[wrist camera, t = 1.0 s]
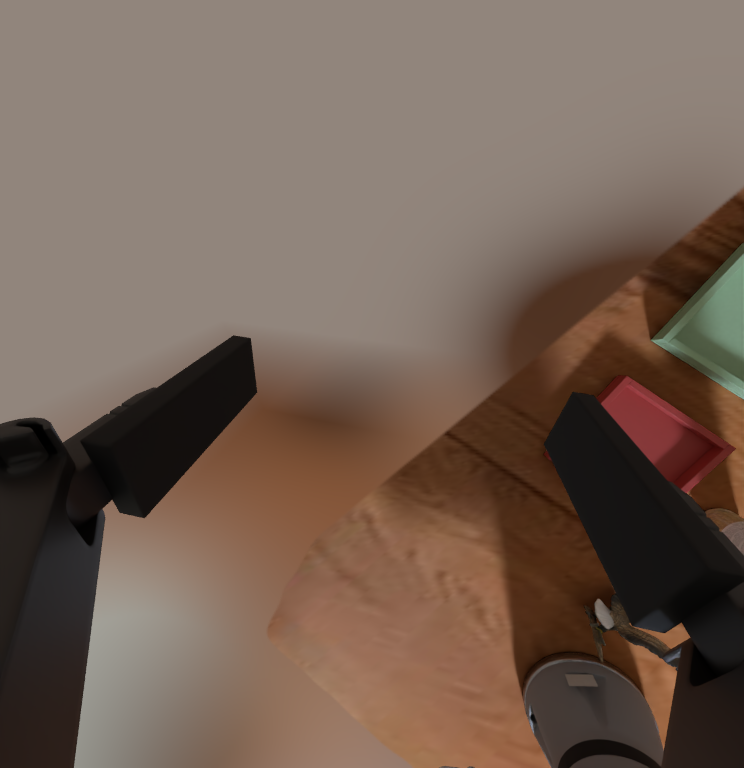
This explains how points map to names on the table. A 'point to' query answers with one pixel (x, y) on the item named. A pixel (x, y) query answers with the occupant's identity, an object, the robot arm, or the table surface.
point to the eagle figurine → (622, 629)
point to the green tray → (712, 327)
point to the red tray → (663, 433)
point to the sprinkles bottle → (729, 525)
